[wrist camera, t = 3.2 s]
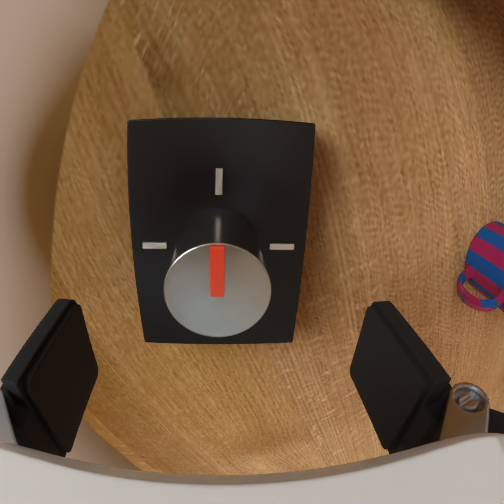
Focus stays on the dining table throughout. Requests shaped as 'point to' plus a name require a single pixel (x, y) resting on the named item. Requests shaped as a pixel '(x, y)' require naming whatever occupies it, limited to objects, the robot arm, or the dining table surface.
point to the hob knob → (217, 275)
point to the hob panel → (219, 196)
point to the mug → (485, 269)
